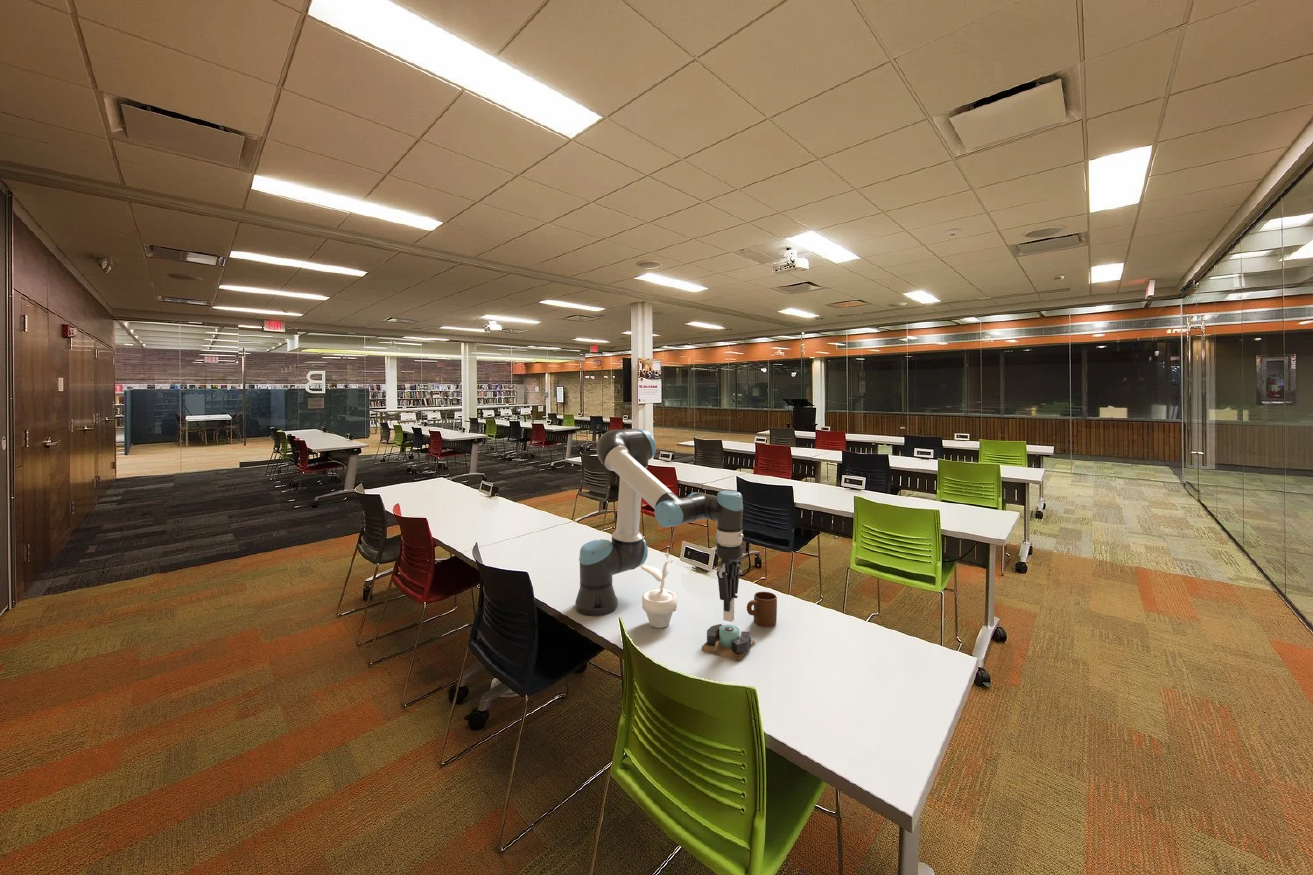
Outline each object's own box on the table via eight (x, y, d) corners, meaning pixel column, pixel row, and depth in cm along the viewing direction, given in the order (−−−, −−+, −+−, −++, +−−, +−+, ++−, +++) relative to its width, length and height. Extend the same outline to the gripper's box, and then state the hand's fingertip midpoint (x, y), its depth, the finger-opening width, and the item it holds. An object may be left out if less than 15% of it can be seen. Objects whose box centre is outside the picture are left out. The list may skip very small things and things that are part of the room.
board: (701, 649, 142) (701, 646, 142) (718, 633, 152) (718, 630, 152) (739, 661, 135) (739, 657, 135) (754, 643, 145) (754, 640, 145)
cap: (715, 644, 142) (716, 629, 142) (724, 636, 147) (724, 622, 147) (734, 650, 139) (734, 635, 139) (742, 642, 144) (742, 627, 144)
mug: (755, 633, 151) (755, 605, 151) (739, 624, 158) (739, 597, 157) (781, 624, 158) (781, 596, 157) (764, 615, 164) (765, 589, 164)
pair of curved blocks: (702, 644, 143) (702, 634, 143) (715, 631, 151) (715, 622, 151) (742, 656, 136) (742, 646, 136) (754, 642, 144) (754, 632, 144)
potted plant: (682, 620, 161) (682, 548, 159) (668, 635, 150) (668, 558, 149) (648, 613, 166) (648, 543, 164) (633, 627, 156) (633, 553, 154)
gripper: (731, 551, 134) (731, 631, 135) (749, 539, 145) (748, 614, 146) (708, 546, 138) (707, 625, 139) (727, 536, 149) (726, 608, 150)
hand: (728, 619), depth 143 cm, fingers closed
